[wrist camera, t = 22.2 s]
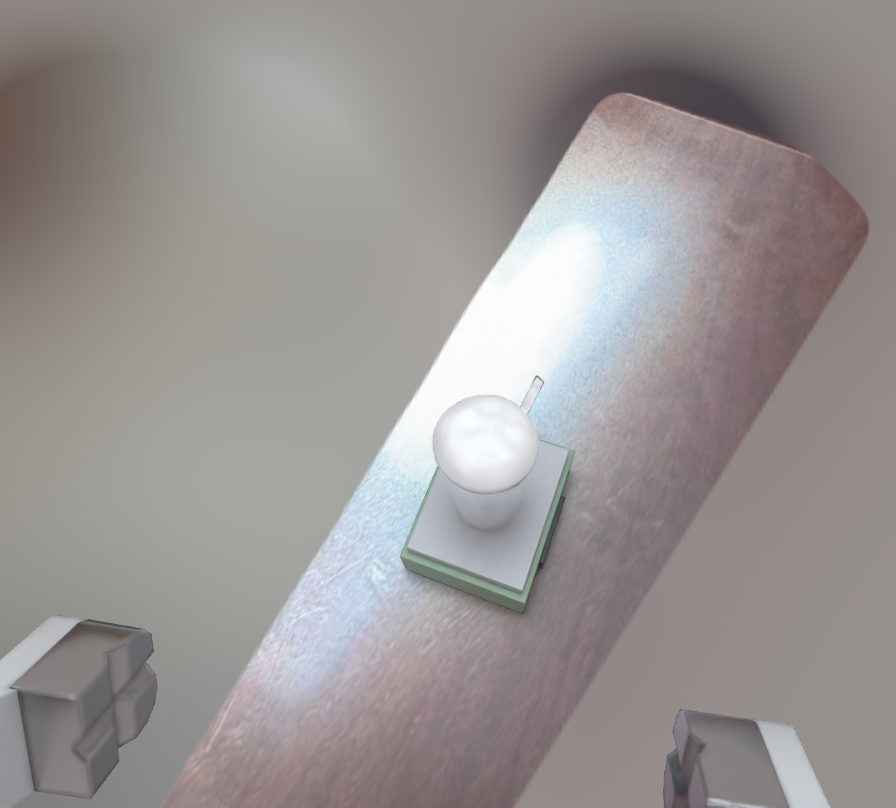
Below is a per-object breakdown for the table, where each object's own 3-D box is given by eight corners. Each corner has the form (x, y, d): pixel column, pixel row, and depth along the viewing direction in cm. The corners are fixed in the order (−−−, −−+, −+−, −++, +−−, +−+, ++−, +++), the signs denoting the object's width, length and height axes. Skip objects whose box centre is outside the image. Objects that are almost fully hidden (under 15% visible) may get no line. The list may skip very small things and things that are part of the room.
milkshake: (558, 496, 36) (580, 415, 27) (482, 561, 35) (479, 499, 26) (501, 438, 38) (504, 343, 29) (427, 498, 36) (406, 418, 28)
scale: (573, 471, 41) (581, 446, 37) (526, 615, 37) (530, 602, 34) (461, 434, 42) (458, 407, 39) (405, 569, 39) (397, 552, 35)
